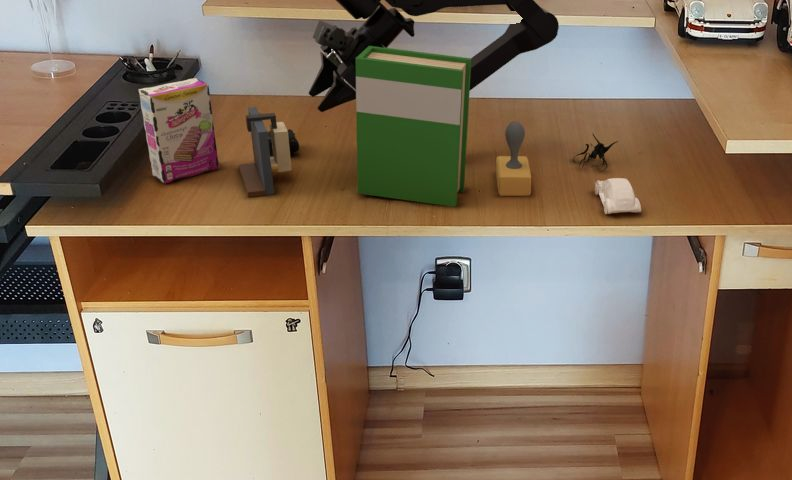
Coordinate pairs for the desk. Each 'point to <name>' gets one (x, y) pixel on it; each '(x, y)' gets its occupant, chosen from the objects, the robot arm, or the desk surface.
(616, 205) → the white toy vehicle
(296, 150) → the tape measure
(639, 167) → the desk surface
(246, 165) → the door
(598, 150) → the creature
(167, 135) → the candy bar box
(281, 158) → the hanger
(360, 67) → the hardback book
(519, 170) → the rubber stamp
